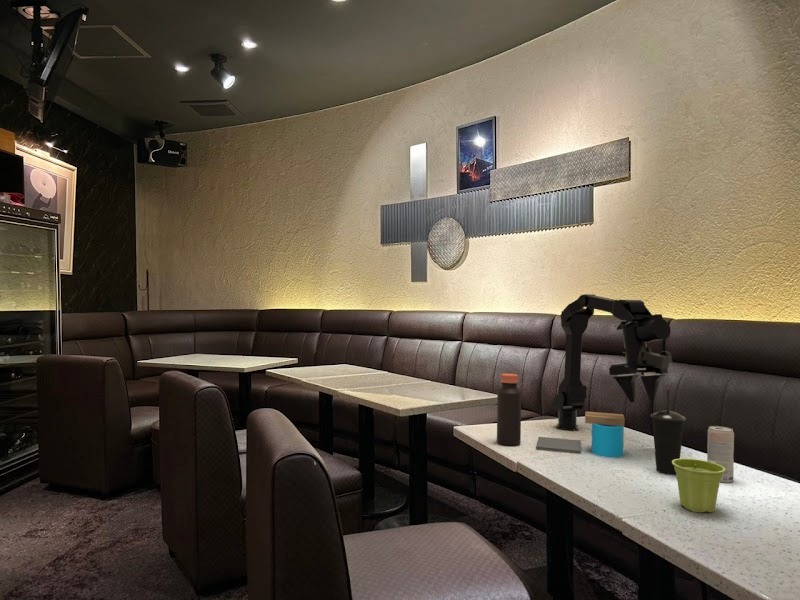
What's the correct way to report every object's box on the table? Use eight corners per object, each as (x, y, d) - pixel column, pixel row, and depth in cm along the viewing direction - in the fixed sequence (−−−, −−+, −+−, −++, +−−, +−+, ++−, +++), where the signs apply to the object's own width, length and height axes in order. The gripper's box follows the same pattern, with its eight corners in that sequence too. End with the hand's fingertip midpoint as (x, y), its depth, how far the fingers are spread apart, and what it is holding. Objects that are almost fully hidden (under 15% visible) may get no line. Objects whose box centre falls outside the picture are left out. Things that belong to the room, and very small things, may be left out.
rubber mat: (538, 439, 162) (538, 436, 162) (580, 443, 159) (580, 440, 159) (535, 449, 151) (535, 446, 151) (581, 453, 147) (581, 450, 147)
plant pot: (677, 495, 116) (677, 455, 116) (728, 507, 110) (728, 464, 110) (666, 508, 108) (666, 465, 109) (720, 520, 102) (720, 475, 103)
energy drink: (729, 477, 129) (729, 426, 129) (736, 484, 124) (737, 431, 124) (704, 474, 131) (704, 425, 131) (710, 481, 125) (711, 430, 125)
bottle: (492, 442, 157) (493, 374, 158) (506, 439, 162) (507, 372, 162) (511, 447, 152) (512, 376, 153) (525, 443, 157) (526, 375, 157)
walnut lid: (585, 418, 155) (585, 411, 155) (623, 421, 152) (623, 414, 152) (585, 423, 149) (585, 415, 149) (624, 426, 145) (624, 419, 145)
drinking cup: (653, 475, 130) (654, 391, 130) (647, 465, 137) (648, 387, 137) (688, 477, 128) (689, 393, 128) (680, 468, 135) (681, 388, 135)
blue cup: (629, 457, 145) (630, 426, 145) (601, 458, 144) (601, 427, 144) (605, 445, 157) (605, 417, 157) (579, 446, 155) (579, 417, 155)
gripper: (642, 339, 138) (650, 401, 135) (681, 341, 148) (690, 399, 145) (604, 344, 147) (611, 403, 144) (644, 346, 157) (651, 400, 154)
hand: (642, 401), depth 147 cm, fingers open, 9 cm apart
